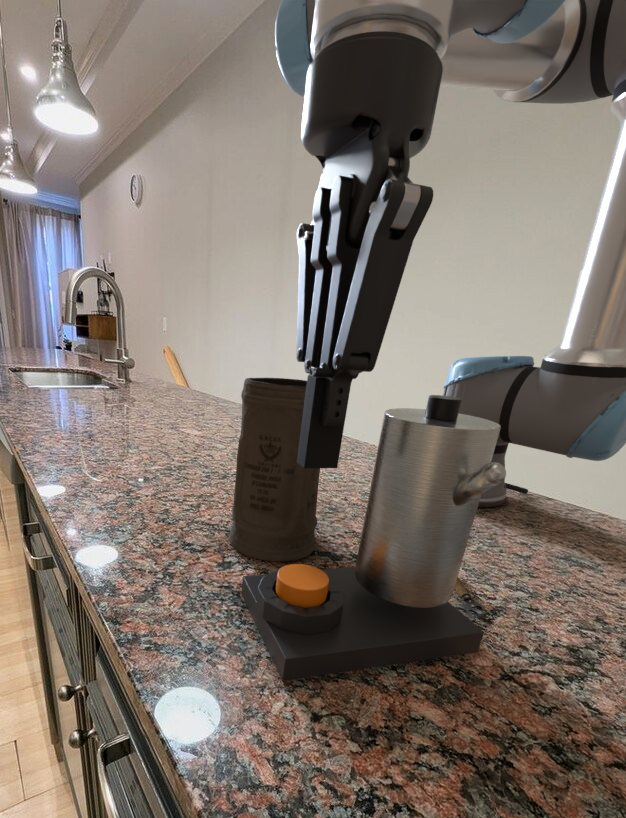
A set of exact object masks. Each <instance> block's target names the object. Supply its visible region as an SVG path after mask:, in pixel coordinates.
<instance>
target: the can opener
mask: <svg viewBox="0 0 626 818" xmlns="http://www.w3.org/2000/svg"><path fill="white" fill-rule="evenodd" d="M454 590H455V592H456V594H457V595H458V597H459V598H460V599H461V600H462V602H463V603H461V604H460V606H461V608H462V609H464V611H465V612H466V613H467V614H468V615H469V616H470V617H471V618H472V619H473V620H474V622H476V623H478V622H477V620H476V619H475V617H474V616H473V614H472V613H471V612H473V613H476V614H477V619H478V620H484V619H485V615H484V612H483V610H485V605H483V604H482V603H479V602H477V601H473V598H472V595H471V594H470V593H469V591H468V590H467V589H466V588H465V587H464V584H463V583H462V581H461V580H460V578H459V576H458V577H457V580H456V584H455V587H454ZM478 607H480V608H481V609H482V610H480V609H479V608H478Z"/></svg>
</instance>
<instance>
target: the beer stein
mask: <svg viewBox="0 0 626 818" xmlns="http://www.w3.org/2000/svg"><path fill="white" fill-rule="evenodd" d="M306 386H307V380H303V379H297V378H295V379H293V378H283V377H247V378H245V379H244V382H243V388H242V390H241V394H240V397H241V422H240V423H241V425H240V435H239V437H238V444H237V451H236V452H237V453H236V466H235V479H234V490H233V492H234V493H233V504H232V513H231V518H232V525H231V527H230V529H229V536H228V540H229V543H230V545H231V546H232V547H233V548H234V549H235V550H236V551H237V552H238V553H241V554H242V555H244V556H246V557H249V558H252V559H254V560H259V561H267V562H277V563H278V562H279V563H281V562H282V563H284V562H285V563H286V562H288V563H289V562H295V561H299V560H301V559H304V558H306V557H309V556H310V555H311V554H312V553H313V552H314V550H315V548H316V535H315V530H316V527H317V526H318V518H317V507H318V505H317V504H318V496H319V495H318V493H319V482H320V475H321V474H320V473H321V468H303V467H302V466H301V465H299V464H298V463H297V458H298V450H299V442H300V434H301V426H302V418H303V410H304V402H305V394H306Z"/></svg>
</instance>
